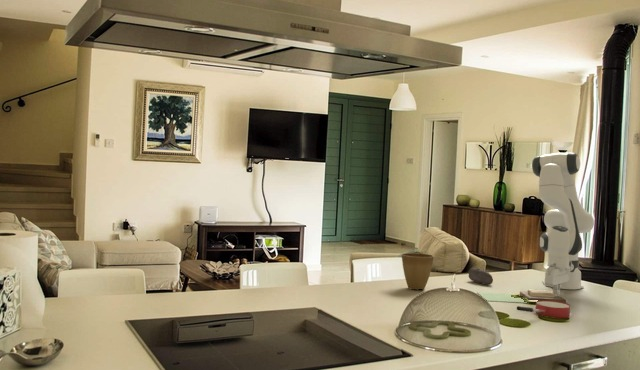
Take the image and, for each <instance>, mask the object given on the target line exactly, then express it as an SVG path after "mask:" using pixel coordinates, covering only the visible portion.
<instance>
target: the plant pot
mask: <svg viewBox="0 0 640 370" xmlns="http://www.w3.org/2000/svg"><path fill="white" fill-rule="evenodd" d="M434 259H435V255H432V254H429V253H419V252H416V253H415V252H406V253H401V263H402V269H403V273H404V275H403V276H404V279H405V282H406V285H407V289H409V288H411V289H424V290H425V289H426V286H427V284H428V282H429V278H430V276H431V271H432V267H433V263H434ZM411 289H410V290H411Z"/></svg>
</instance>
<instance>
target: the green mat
mask: <svg viewBox="0 0 640 370" xmlns="http://www.w3.org/2000/svg"><path fill="white" fill-rule="evenodd" d="M476 294H478V295H479V296H480V295H481V296H482V297H483V298H482V297H481V296H480V297H481V298H482V299H483V300H485V299H486V300H487V301H486V300H485V301H486V302H496V303H497V302H499V303H513V304H514V303H516V304H528V303H527V302H524V300H523V299H524V298H523V299H521V298H514V297H511V295H519V294H517V293H500V292H481V291H477V293H476Z"/></svg>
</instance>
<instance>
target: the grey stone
mask: <svg viewBox="0 0 640 370" xmlns="http://www.w3.org/2000/svg"><path fill="white" fill-rule="evenodd" d="M468 270H469V271H468V278H469V280H470V281H472V282H474V283H477V284H481V285H485V286H486V285H492V283H493V282H494V278H493V276H492V274H490V273H489V272H488V271H485V270H483V269H480V268H478V267H471V268H470V269H468Z"/></svg>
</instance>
